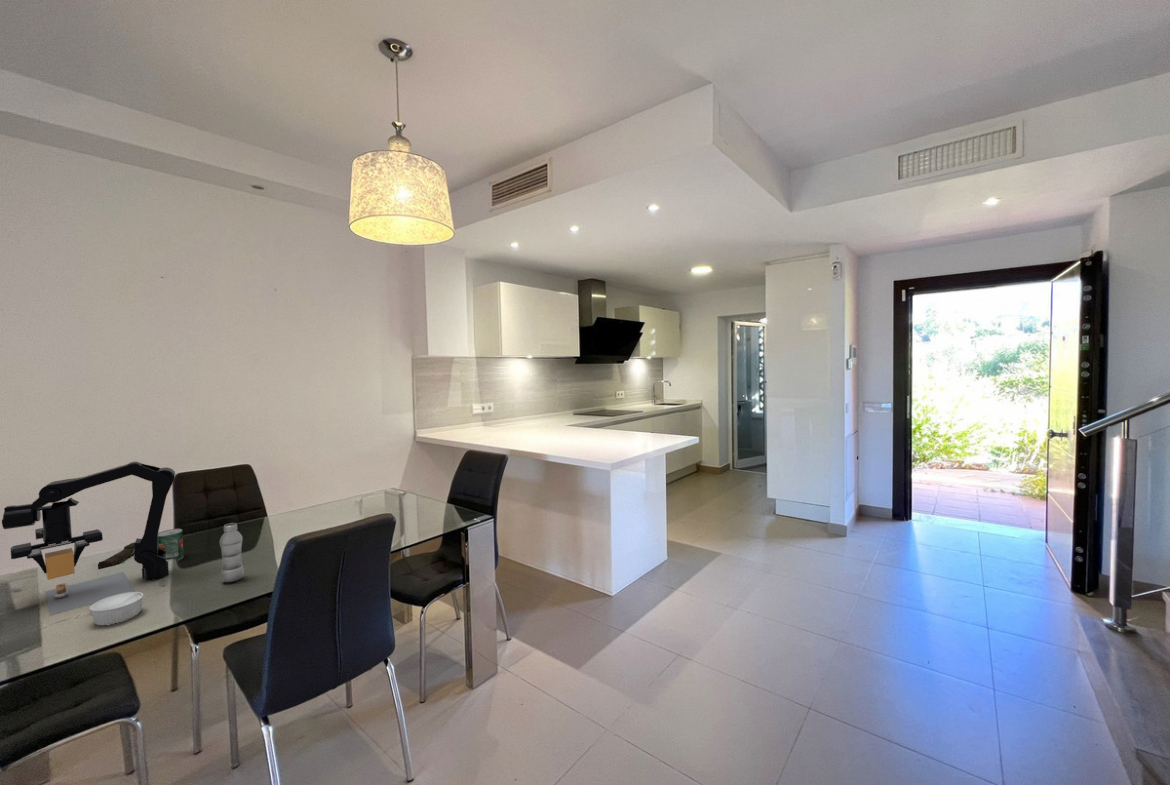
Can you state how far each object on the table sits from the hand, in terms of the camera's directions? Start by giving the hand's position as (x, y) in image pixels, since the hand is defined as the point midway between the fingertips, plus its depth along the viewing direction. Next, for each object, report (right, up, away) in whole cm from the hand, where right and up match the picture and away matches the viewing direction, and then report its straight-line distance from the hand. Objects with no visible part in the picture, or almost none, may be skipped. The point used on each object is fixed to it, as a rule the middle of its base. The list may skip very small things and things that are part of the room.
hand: (60, 569), depth 143 cm
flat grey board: (+5, -10, +4) cm, 12 cm away
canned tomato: (+5, -9, +32) cm, 34 cm away
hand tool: (-14, -9, +31) cm, 36 cm away
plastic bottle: (+44, -10, +14) cm, 47 cm away
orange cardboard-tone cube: (0, -2, 0) cm, 2 cm away
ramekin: (+28, -11, -9) cm, 31 cm away
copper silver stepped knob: (0, -9, 0) cm, 9 cm away
